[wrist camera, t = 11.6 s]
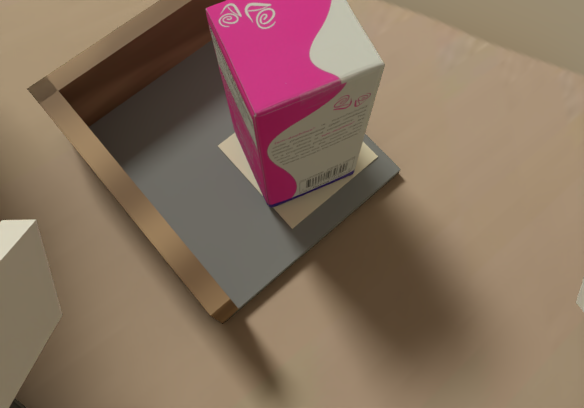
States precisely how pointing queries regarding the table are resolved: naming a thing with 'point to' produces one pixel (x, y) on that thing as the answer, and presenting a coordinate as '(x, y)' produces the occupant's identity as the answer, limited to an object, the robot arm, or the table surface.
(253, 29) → the supplement box
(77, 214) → the table surface
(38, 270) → the robot arm
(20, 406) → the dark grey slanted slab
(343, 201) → the grey mat
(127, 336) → the table surface
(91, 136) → the walnut corner walls
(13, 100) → the table surface
